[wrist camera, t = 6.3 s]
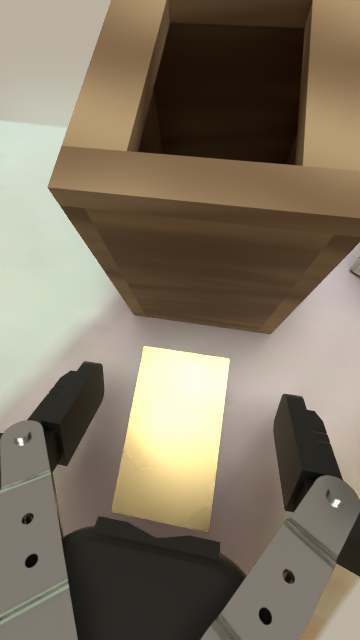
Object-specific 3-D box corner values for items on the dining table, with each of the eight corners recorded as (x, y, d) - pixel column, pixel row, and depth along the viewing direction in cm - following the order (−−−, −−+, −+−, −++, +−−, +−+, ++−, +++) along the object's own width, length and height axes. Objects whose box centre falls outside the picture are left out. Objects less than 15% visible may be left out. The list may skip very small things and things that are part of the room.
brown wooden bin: (270, 333, 19) (380, 220, 8) (134, 314, 20) (47, 187, 8) (281, 202, 22) (374, -28, 10) (160, 190, 23) (122, -33, 11)
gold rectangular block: (204, 464, 17) (213, 533, 8) (156, 455, 17) (107, 511, 8) (214, 385, 18) (233, 359, 9) (170, 377, 19) (140, 345, 9)
